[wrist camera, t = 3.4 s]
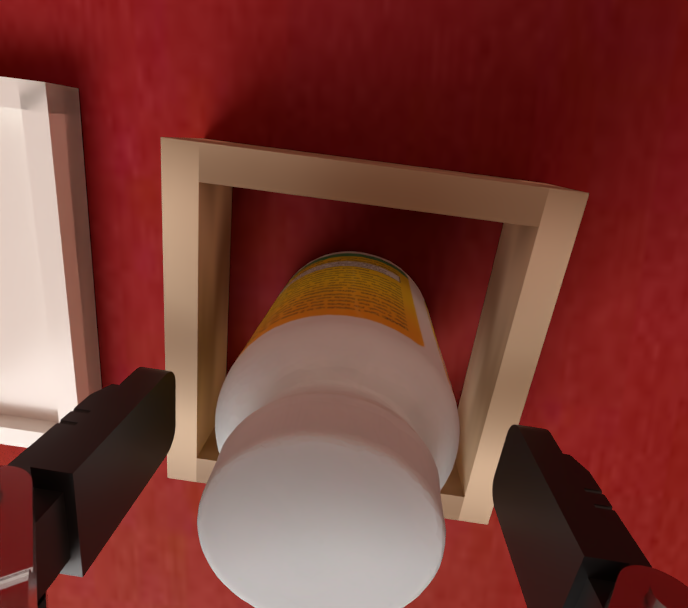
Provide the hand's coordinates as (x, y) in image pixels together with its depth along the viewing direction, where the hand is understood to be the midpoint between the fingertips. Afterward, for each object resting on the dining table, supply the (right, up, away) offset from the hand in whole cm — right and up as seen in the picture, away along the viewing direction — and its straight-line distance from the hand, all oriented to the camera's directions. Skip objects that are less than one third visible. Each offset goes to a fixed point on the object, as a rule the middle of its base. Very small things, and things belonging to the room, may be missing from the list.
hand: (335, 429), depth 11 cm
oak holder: (0, +2, +5) cm, 6 cm away
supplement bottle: (0, +2, +6) cm, 6 cm away
